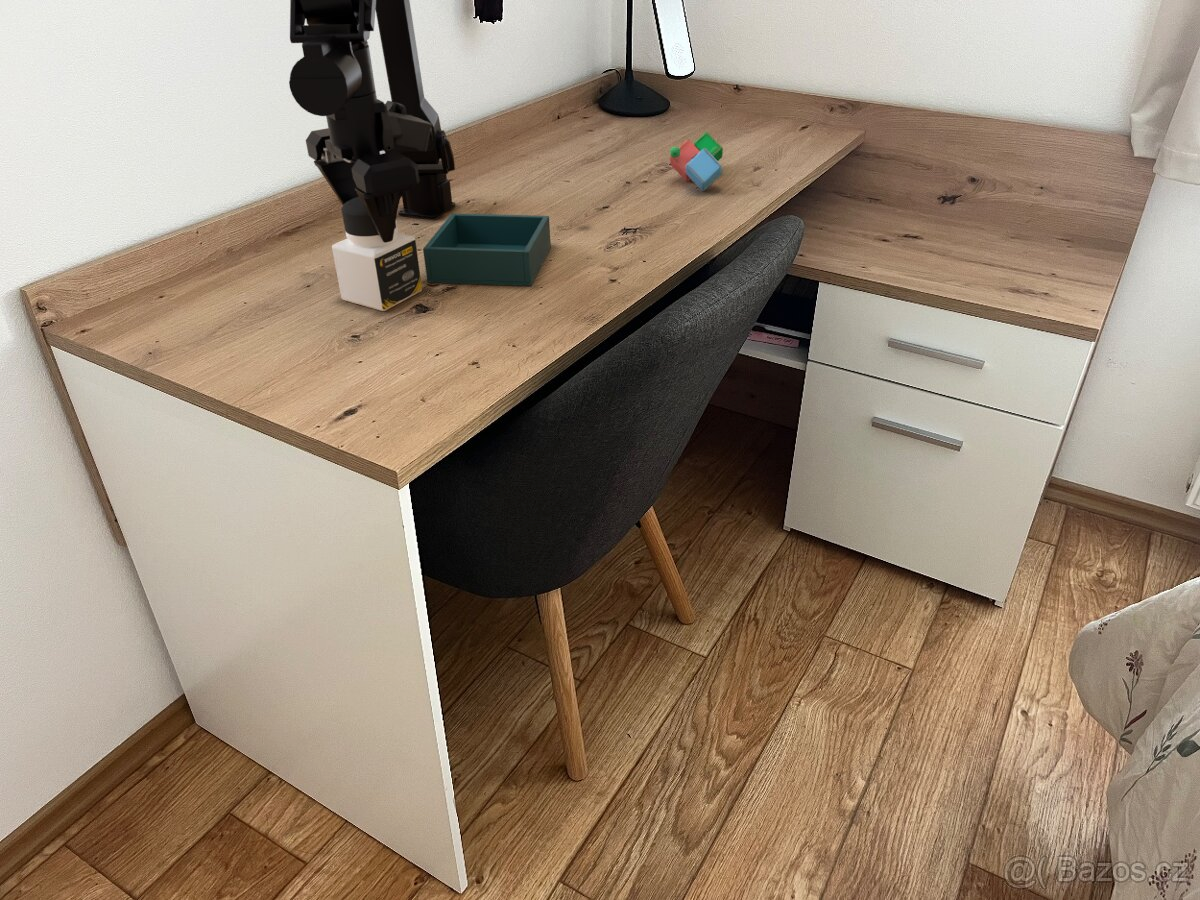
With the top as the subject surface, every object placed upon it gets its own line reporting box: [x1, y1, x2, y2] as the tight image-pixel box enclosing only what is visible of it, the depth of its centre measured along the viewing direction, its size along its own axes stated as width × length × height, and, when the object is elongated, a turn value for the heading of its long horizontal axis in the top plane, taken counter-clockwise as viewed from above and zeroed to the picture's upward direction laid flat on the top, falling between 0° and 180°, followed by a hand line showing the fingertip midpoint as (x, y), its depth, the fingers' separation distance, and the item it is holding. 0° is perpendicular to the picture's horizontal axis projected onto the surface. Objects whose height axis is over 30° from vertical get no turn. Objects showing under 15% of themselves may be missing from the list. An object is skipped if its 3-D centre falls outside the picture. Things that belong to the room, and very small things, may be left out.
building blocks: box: [669, 131, 724, 192], centre depth 148 cm, size 8×8×12 cm
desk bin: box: [422, 212, 552, 287], centre depth 122 cm, size 13×13×4 cm
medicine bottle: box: [331, 197, 423, 312], centre depth 112 cm, size 7×7×12 cm
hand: (372, 230), depth 111 cm, fingers open, 9 cm apart
